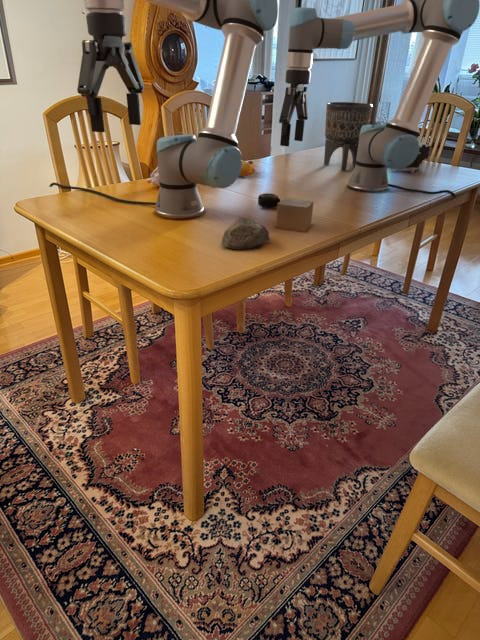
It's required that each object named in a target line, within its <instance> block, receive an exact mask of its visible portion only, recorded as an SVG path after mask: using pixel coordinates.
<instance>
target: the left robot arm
mask: <svg viewBox="0 0 480 640" xmlns="http://www.w3.org/2000/svg"><path fill="white" fill-rule="evenodd" d="M142 1H143V2H147V3H150V4H153V5H156V6H158V7H161V8H165V9H168V10H172V11H174V12H177V13H180V14H181V15H182V16H183V17H184V18H185V19H186V20H188V21H190V22H193V23H197V24H200V25H202V26H205V27H208V28H211V29H215V30H219V31H221V33H222V34H223V36H224V41H223V46H222V51H221V54H220V59H219V64H218V67H217V68H218V69H217V72H216V77H215V81H214V82H215V83H214V87H213V91H212V96H211V100H210V104H209V110H208V114H207V119H206V123H205V127H204V128H203V129H202V130H200V131H198V134H197V137H196V134H192V133H191V134H188V133H187V134H176V135H168V136H167V135H166V136H162V137H160V138H158V140H157V141H156V160H157V167H158V173H159V185H158V187H159V190H158V194H157V198H156V202H155V201H154V202H152V201H137V200H127V199H121V198H117V197H116V196H115V197H114V196H113V195H109V194H106V193H104V192H101V191H97V190H94V189H90V188H85V187H79V186H73V185H64V184H62V183H61V184H60V183H58V182H51V183H50V184H49V186H48V187H49V188H52V187H53V186H57V187H59V188H62V189H68V190H78V191H84V192H88V193H93V194H96V195H99V196H102V197H105V198H107V199H110V200H113V201H115V202H119V203H123V204H131V205H143V206H155V207H154V210H155V211H154V212H155V215H156V216H158V217H160V218H164V219H168V220H189V219H194V218H197V217H200V216H201V215H204V204H203V200H202V197H201V194H200V192H199V190H198V185H202V186H206V187H209V188H213V189H216V188H218V189H227V188H229V187H231V186H232V185H233V184H234V183H235V182H236V181H237V179H238V177H240V176H239V174H240V171H241V168H242V161H243V159H242V158H243V155H242V152H241V150H240V149H239V148H238V147H239V141H238V140H237V137H236V132H237V130H238V129H237V128H238V124H239V119H240V116H241V111H242V106H243V102H244V98H245V94H246V90H247V86H248V80H249V76H250V73H251V68H252V65H253V59H254V56H255V55H254V54H255V51H256V47H258V46H259V45H261V44H263V41H264V37H265V32H269V31H271V30H273V28H274V27H275V25H276V24H277V21H278V16H279V2H278V0H142ZM84 7H85V10H87V11H88V13H86V15H85V19H86V24H87V25H86V26H87V33H88V35H89V36H92V39H83V40H81V48H82V55H81V62H80V68H79V77H78V83H77V89H76V90H77V93H78V94H79V95H81V97H83V98H86V104H87V105H86V106H87V112H88V115H89V118H90V119H89V121H90V126H91V132H94V133H106V129H105V122H104V114H103V106H102V98H101V97H98V95H99V92H100V90H101V88H102V87H101V86H102V84H103V81H104V78H105V75H106V72H107V70H108V69H110V68H111V67H112V68H114V69H115V70H116V71H117V73H118V75H119V78H120V79H121V81H122V82H123V84H124V86H125V88H126V89H127V91H128V92H126V93H125V96H126V104H127V115H128V116H127V117H128V125H132V126H142V122H141V121H142V119H141V110H140V104H141V103H140V94H143V93H144V89H145V84H144V80H143V78H142V75H141V72H140V69H139V66H138V63H137V60H136V56H135V53H134V45H133V43H132V41H131V42H129V41H127V42H126V41H123V38H124V37H126V36H127V24H126V17H125V15H124V14H123V12H125V0H84Z"/></svg>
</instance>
